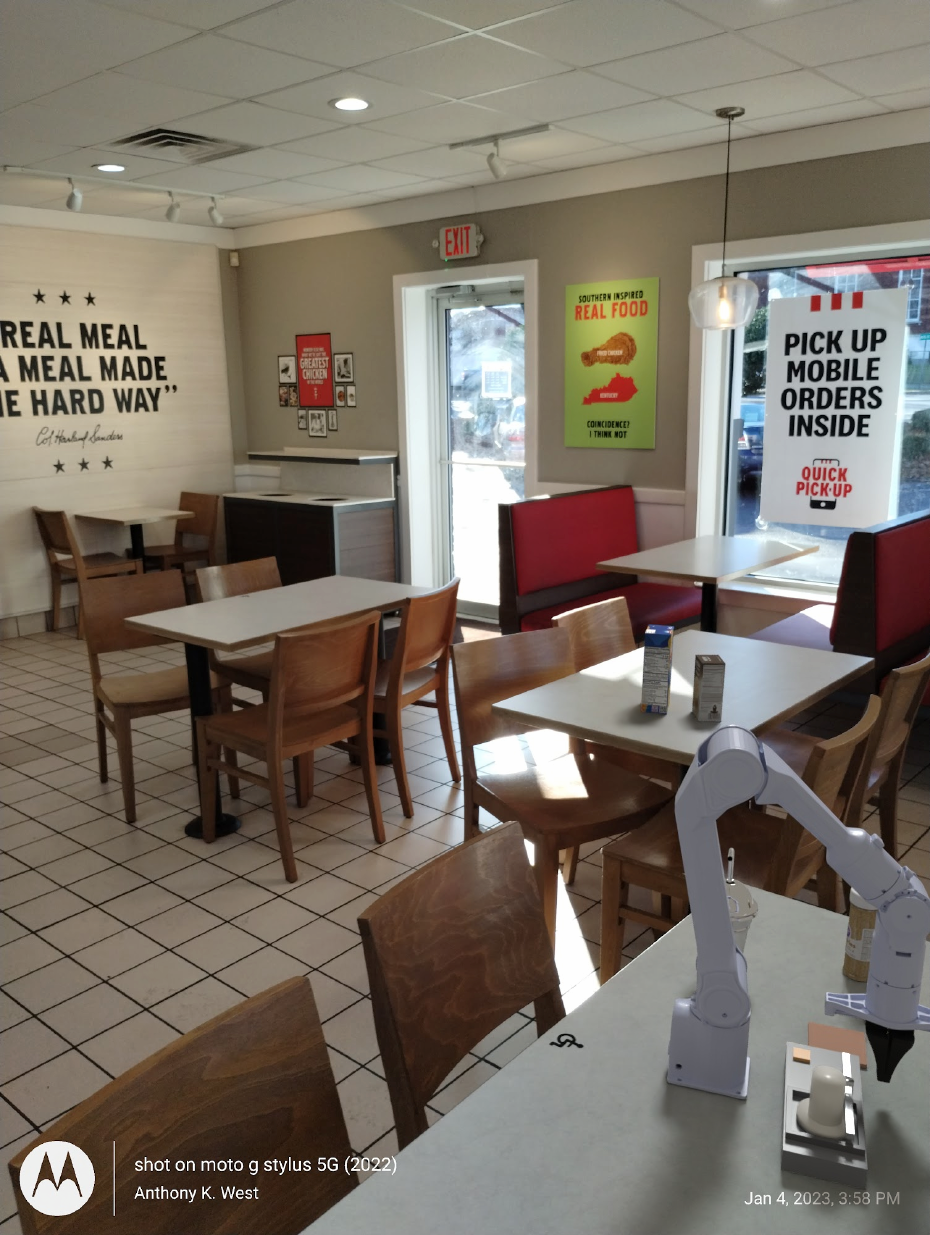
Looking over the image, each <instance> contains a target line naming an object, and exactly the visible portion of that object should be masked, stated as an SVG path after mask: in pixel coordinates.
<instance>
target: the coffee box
mask: <svg viewBox="0 0 930 1235" xmlns="http://www.w3.org/2000/svg"><path fill="white" fill-rule="evenodd" d="M694 658H695V659H694V671H693V674H694V676H693V690H692V703H691V704H692V705H691V706H692V707H691V710H692V713H693V714H694V716H695V718H696V720H697V722H722V716H723V702H724V701H723V699H724V690H725V678H726V677H725V675H726V662H725V661H724V660H723V659H722V657H721V656H720V654H695V657H694Z"/></svg>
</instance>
